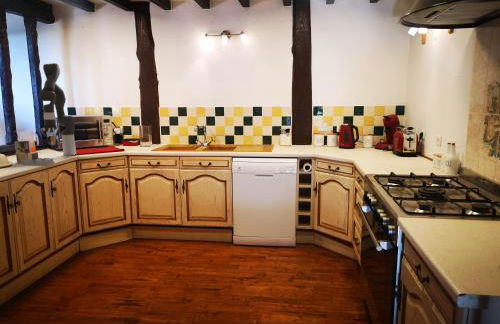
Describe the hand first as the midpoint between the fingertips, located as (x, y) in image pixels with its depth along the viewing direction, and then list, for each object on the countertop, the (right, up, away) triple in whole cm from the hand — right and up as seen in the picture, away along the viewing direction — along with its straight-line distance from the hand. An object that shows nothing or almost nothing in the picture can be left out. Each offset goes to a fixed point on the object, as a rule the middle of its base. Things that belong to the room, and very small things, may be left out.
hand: (51, 141), depth 277 cm
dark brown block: (0, -2, 0) cm, 2 cm away
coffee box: (-20, -16, -1) cm, 25 cm away
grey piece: (-6, -17, -6) cm, 19 cm away
